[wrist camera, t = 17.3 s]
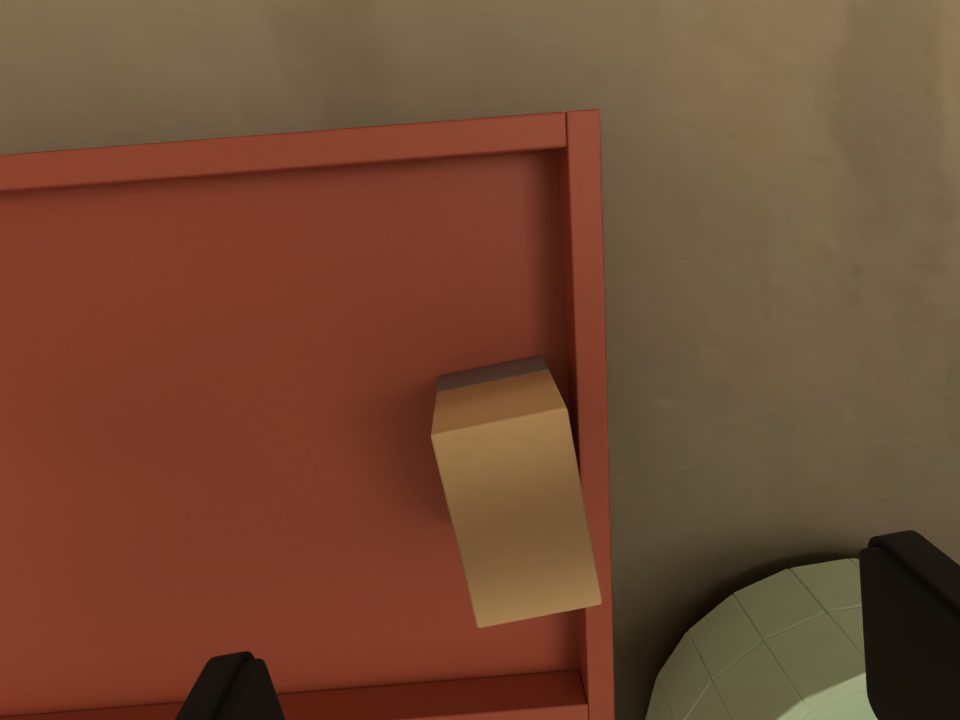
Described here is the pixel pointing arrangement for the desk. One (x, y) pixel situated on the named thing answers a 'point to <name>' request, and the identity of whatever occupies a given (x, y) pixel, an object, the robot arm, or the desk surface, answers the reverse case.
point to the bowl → (773, 653)
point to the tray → (287, 415)
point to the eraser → (514, 492)
